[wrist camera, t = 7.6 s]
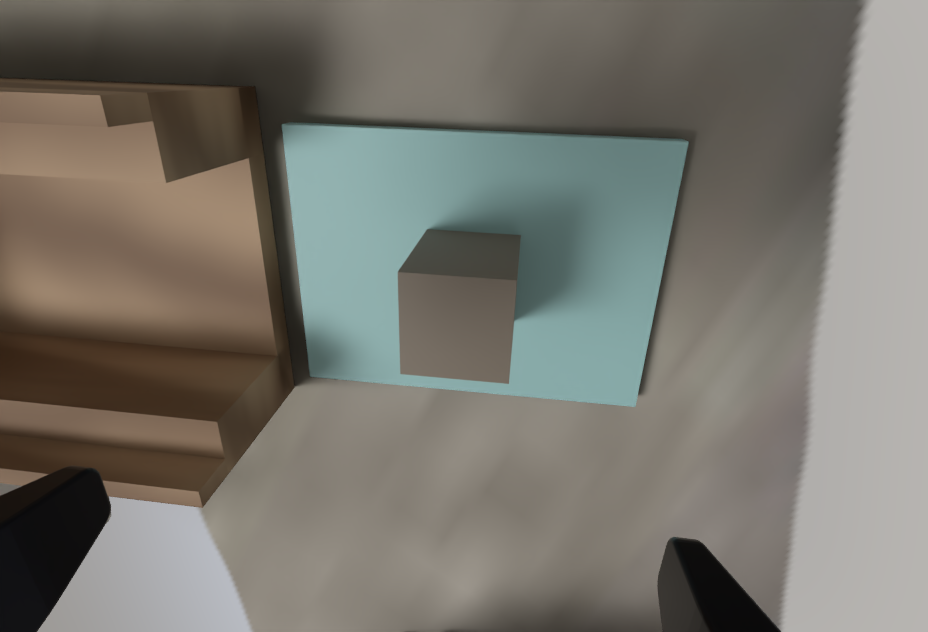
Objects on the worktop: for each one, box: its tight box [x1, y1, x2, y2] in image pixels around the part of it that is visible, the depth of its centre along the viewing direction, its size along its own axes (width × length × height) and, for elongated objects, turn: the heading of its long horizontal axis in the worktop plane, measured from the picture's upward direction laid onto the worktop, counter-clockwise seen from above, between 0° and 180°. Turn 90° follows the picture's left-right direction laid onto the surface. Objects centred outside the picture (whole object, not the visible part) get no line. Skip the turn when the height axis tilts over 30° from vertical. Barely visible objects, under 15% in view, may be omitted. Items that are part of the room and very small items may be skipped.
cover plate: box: [282, 122, 689, 407], centre depth 16 cm, size 9×12×5 cm
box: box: [0, 78, 294, 508], centre depth 16 cm, size 11×14×6 cm
